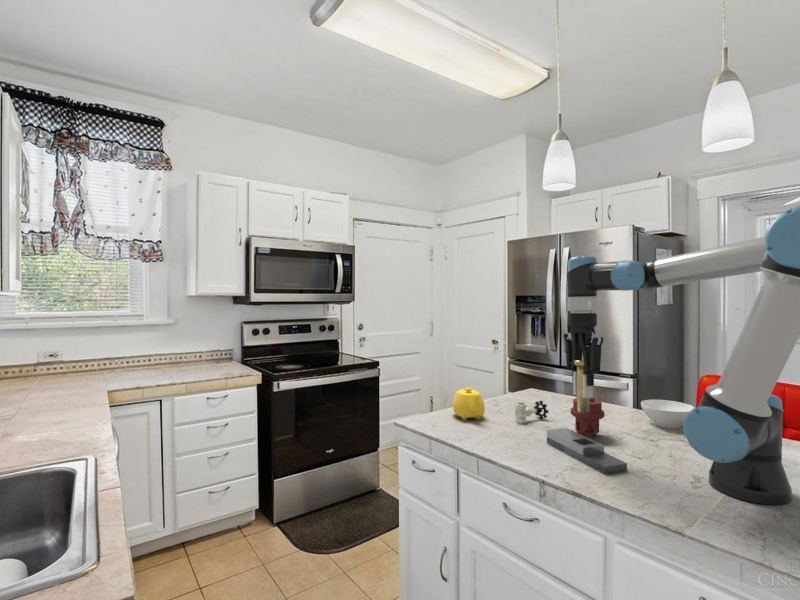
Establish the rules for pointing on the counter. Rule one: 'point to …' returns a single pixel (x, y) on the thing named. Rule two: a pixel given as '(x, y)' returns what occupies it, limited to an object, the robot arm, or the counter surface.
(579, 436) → the plate with square socket
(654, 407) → the bowl
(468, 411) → the teapot
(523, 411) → the valve
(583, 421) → the mechanical component
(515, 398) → the counter surface
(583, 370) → the brass knob
